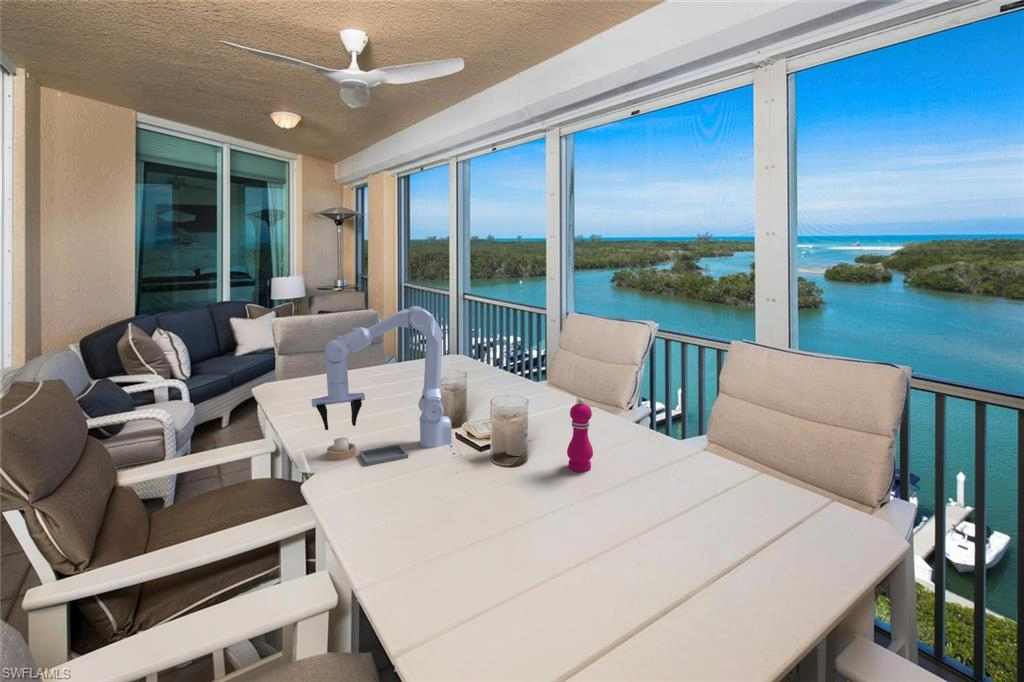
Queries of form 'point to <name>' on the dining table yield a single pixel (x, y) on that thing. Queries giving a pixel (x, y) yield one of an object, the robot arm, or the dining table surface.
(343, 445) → the pale grey rounded cylinder
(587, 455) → the pepper mill
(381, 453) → the parts tray
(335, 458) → the bowl
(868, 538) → the dining table surface
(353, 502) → the dining table surface
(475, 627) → the dining table surface
